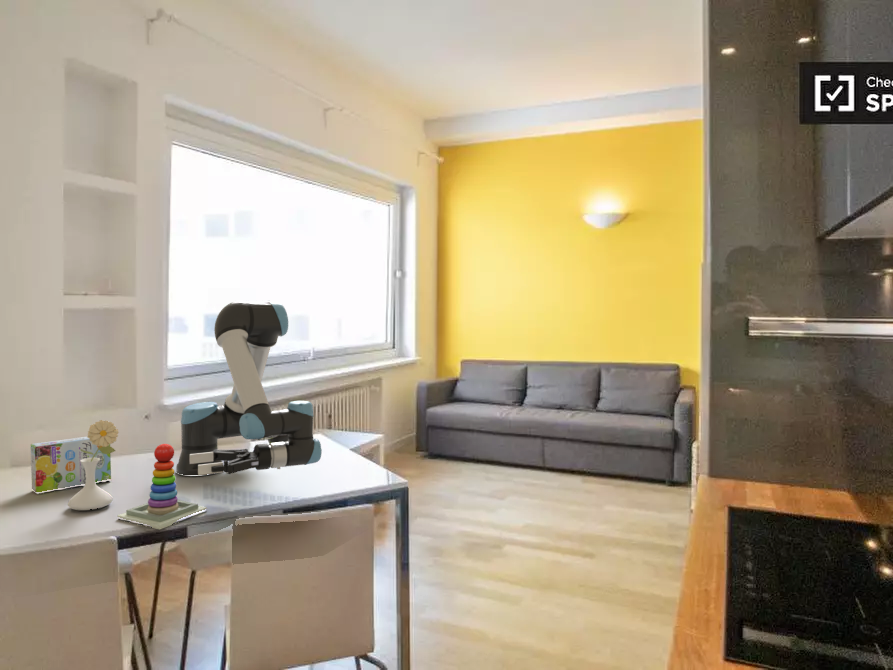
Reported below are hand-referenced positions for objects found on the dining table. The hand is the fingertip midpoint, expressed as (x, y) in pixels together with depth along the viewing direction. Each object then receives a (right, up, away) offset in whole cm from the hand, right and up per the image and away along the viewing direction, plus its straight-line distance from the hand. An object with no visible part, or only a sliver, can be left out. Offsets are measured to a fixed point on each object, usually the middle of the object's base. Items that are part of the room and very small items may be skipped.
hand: (193, 464), depth 183 cm
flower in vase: (-30, -13, +3) cm, 32 cm away
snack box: (-47, -12, +22) cm, 53 cm away
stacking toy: (-7, -12, -4) cm, 15 cm away
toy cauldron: (+4, -9, +76) cm, 76 cm away
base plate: (-7, -13, -4) cm, 16 cm away
